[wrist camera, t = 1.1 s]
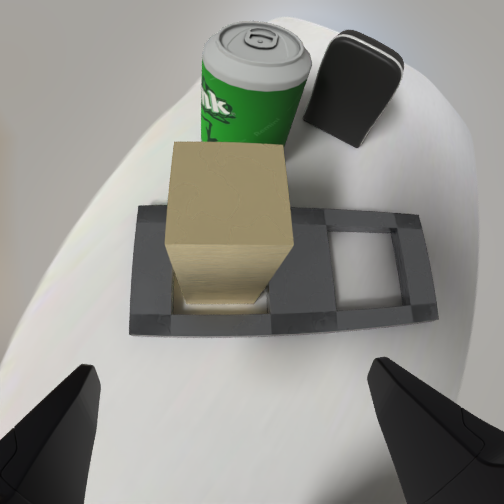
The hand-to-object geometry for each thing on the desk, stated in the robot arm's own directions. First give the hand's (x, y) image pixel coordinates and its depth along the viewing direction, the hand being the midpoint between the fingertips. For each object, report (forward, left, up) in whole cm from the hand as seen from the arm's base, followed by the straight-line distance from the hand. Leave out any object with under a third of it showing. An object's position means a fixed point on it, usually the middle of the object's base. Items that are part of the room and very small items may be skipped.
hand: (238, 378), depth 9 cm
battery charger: (+23, -12, -14) cm, 30 cm away
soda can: (+19, -2, -14) cm, 24 cm away
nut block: (+7, 0, -13) cm, 15 cm away
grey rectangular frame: (+7, -6, -13) cm, 17 cm away
